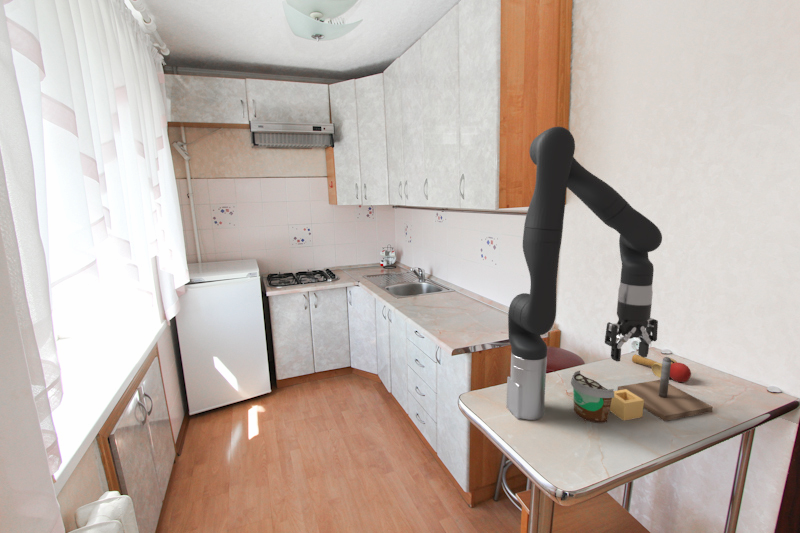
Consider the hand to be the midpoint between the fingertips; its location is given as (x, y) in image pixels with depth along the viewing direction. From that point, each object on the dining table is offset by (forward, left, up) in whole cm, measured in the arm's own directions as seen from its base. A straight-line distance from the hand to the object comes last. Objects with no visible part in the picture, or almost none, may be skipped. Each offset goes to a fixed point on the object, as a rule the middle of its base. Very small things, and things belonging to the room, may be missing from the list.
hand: (629, 358), depth 102 cm
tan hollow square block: (0, 0, -16) cm, 16 cm away
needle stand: (+15, +2, -16) cm, 22 cm away
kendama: (+29, +16, -16) cm, 37 cm away
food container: (-11, +2, -16) cm, 20 cm away
